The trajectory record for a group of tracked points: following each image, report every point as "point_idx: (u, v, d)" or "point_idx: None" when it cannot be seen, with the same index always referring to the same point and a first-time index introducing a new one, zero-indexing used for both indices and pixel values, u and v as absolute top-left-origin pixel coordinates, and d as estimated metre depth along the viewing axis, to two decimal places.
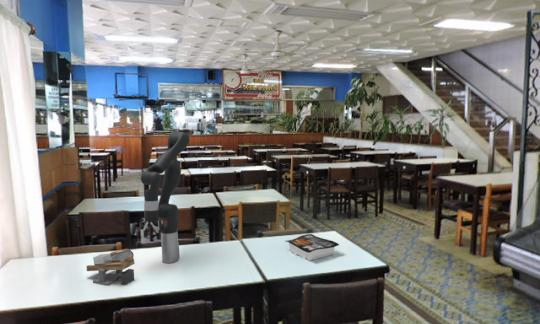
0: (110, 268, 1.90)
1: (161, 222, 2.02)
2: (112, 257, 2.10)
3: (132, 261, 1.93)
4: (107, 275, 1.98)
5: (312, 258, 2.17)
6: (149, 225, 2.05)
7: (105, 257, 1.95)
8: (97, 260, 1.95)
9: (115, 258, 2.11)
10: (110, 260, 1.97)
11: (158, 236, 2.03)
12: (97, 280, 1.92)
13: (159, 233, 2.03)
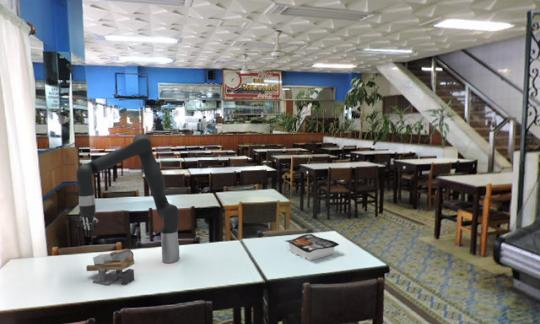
0: (110, 268, 1.90)
1: (96, 222, 1.95)
2: (112, 257, 2.10)
3: (132, 261, 1.93)
4: (107, 275, 1.98)
5: (312, 258, 2.17)
6: None
7: (105, 257, 1.95)
8: (97, 260, 1.95)
9: (115, 258, 2.11)
10: (110, 260, 1.97)
11: (89, 233, 1.98)
12: (97, 280, 1.92)
13: (90, 230, 1.98)
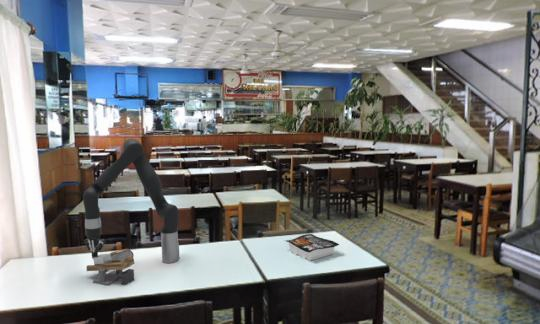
0: (110, 268, 1.90)
1: (101, 245, 1.96)
2: (112, 257, 2.10)
3: (132, 261, 1.93)
4: (107, 275, 1.98)
5: (312, 258, 2.18)
6: None
7: (105, 257, 1.95)
8: (97, 260, 1.95)
9: (115, 258, 2.11)
10: (110, 260, 1.97)
11: (94, 255, 1.98)
12: (97, 280, 1.92)
13: (95, 252, 1.98)
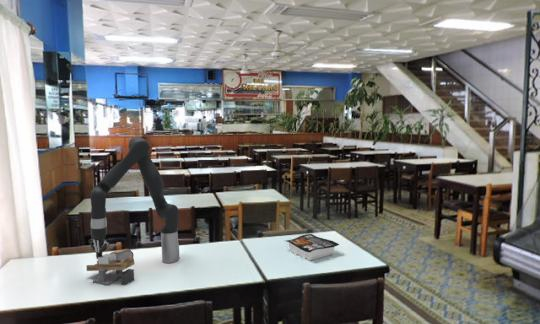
0: (110, 268, 1.90)
1: (106, 245, 1.94)
2: None
3: (132, 261, 1.93)
4: (107, 275, 1.98)
5: (312, 258, 2.18)
6: None
7: (110, 257, 1.93)
8: (102, 260, 1.93)
9: None
10: (115, 260, 1.95)
11: (99, 256, 1.96)
12: (97, 280, 1.92)
13: (100, 253, 1.96)
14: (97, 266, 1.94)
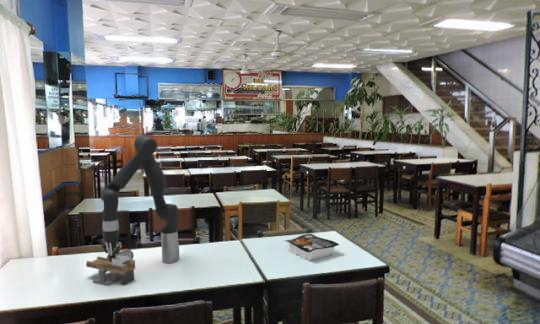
0: (110, 270, 1.90)
1: (119, 248, 1.91)
2: None
3: (133, 266, 1.93)
4: (107, 275, 1.98)
5: (312, 258, 2.18)
6: None
7: (124, 260, 1.89)
8: (115, 262, 1.90)
9: None
10: None
11: None
12: (97, 280, 1.92)
13: (113, 256, 1.93)
14: (97, 264, 1.94)
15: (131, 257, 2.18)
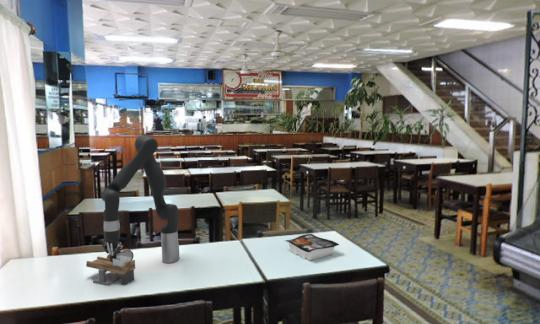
0: (110, 270, 1.90)
1: (120, 248, 1.90)
2: None
3: (133, 266, 1.93)
4: (107, 275, 1.98)
5: (312, 258, 2.18)
6: None
7: (125, 261, 1.89)
8: (116, 262, 1.89)
9: None
10: None
11: None
12: (97, 280, 1.92)
13: (114, 256, 1.93)
14: (97, 264, 1.94)
15: (131, 257, 2.18)
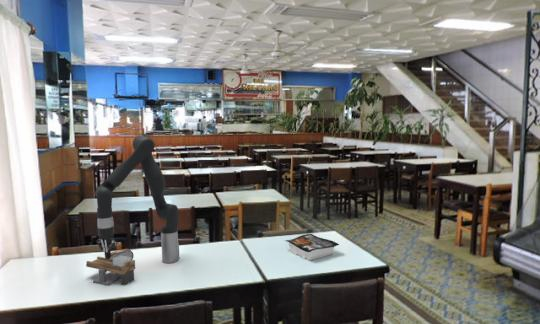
0: (110, 270, 1.90)
1: (114, 244, 1.92)
2: (112, 257, 2.10)
3: (133, 266, 1.93)
4: (107, 275, 1.98)
5: (311, 258, 2.18)
6: None
7: (125, 261, 1.89)
8: (116, 262, 1.89)
9: None
10: None
11: (108, 256, 1.95)
12: (97, 280, 1.92)
13: (108, 252, 1.94)
14: (97, 264, 1.94)
15: (131, 257, 2.18)
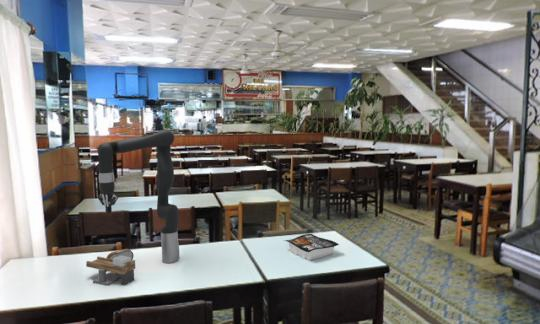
0: (110, 270, 1.90)
1: (115, 199, 1.99)
2: (112, 257, 2.10)
3: (133, 266, 1.93)
4: (107, 275, 1.98)
5: (311, 258, 2.18)
6: None
7: (125, 261, 1.89)
8: (116, 262, 1.89)
9: None
10: None
11: (108, 210, 2.02)
12: (97, 280, 1.92)
13: (109, 207, 2.01)
14: (97, 264, 1.94)
15: (131, 257, 2.18)
